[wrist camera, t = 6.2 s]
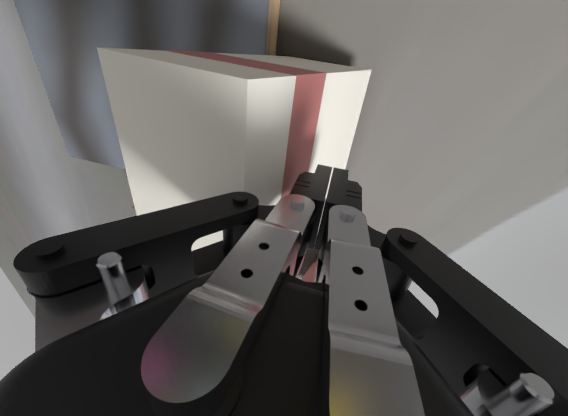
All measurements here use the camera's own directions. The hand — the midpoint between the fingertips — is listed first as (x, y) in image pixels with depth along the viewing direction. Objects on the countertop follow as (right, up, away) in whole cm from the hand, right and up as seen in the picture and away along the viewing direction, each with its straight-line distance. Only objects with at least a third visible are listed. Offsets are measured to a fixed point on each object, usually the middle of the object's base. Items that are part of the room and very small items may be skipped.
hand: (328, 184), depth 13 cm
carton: (+1, +6, +10) cm, 11 cm away
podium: (-14, +10, +13) cm, 21 cm away
